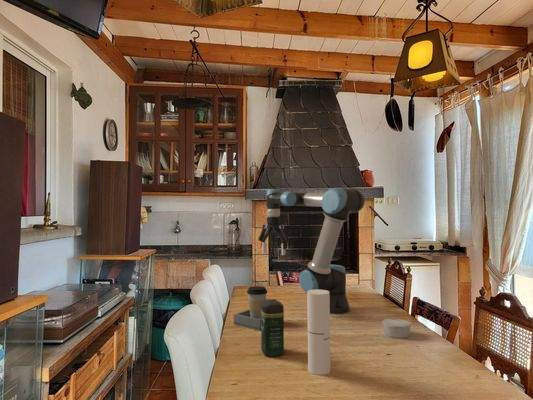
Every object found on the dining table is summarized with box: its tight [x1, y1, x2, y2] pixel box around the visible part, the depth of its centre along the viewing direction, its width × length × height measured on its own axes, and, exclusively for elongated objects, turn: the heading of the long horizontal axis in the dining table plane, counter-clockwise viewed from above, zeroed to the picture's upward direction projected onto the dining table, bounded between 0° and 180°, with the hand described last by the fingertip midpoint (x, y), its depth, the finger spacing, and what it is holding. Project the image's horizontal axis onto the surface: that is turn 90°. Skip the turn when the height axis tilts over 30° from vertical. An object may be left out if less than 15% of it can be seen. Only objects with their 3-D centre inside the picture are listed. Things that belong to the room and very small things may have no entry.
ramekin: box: [381, 317, 412, 339], centre depth 150 cm, size 11×11×5 cm
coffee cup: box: [246, 285, 268, 319], centre depth 167 cm, size 9×9×15 cm
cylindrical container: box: [306, 289, 331, 376], centre depth 118 cm, size 7×7×25 cm
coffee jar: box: [260, 298, 285, 357], centre depth 133 cm, size 10×8×19 cm
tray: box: [233, 308, 261, 332], centre depth 167 cm, size 15×15×4 cm
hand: (273, 254), depth 206 cm, fingers open, 13 cm apart
